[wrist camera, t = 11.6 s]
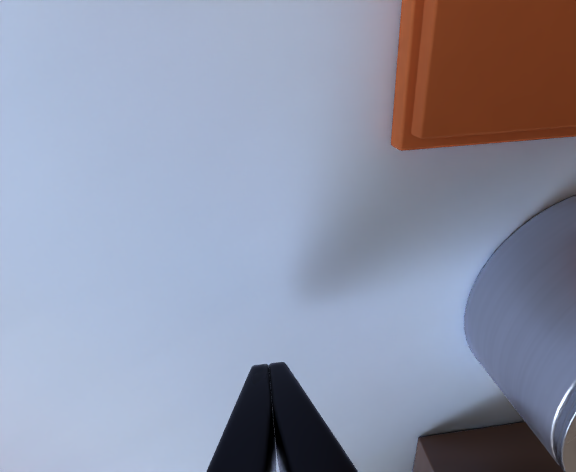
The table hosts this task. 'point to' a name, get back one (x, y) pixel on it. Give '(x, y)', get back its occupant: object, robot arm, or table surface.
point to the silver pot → (532, 326)
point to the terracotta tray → (484, 72)
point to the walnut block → (485, 451)
